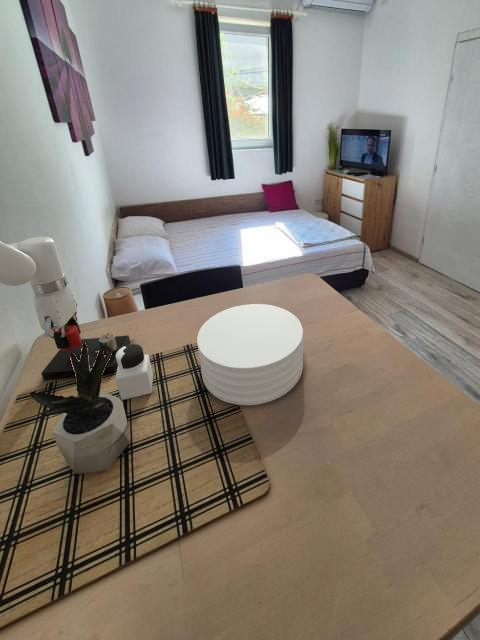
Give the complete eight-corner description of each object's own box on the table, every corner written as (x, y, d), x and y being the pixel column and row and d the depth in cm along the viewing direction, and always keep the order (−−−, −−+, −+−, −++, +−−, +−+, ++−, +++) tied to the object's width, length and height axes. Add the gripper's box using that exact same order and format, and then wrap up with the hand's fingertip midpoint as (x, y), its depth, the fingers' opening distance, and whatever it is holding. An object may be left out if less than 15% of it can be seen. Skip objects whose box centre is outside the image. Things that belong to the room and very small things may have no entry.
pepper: (56, 351, 89) (49, 331, 87) (66, 339, 94) (59, 320, 91) (76, 349, 90) (69, 330, 87) (85, 338, 95) (78, 319, 92)
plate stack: (214, 421, 74) (209, 383, 70) (194, 349, 98) (189, 317, 94) (321, 383, 85) (322, 347, 80) (279, 326, 108) (278, 296, 104)
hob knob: (115, 354, 93) (111, 340, 91) (100, 356, 92) (96, 342, 90) (119, 345, 96) (115, 332, 94) (105, 347, 96) (101, 333, 94)
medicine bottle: (153, 374, 89) (145, 338, 84) (151, 393, 82) (143, 355, 78) (124, 380, 87) (114, 344, 82) (121, 401, 80) (110, 362, 76)
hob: (43, 380, 87) (40, 372, 86) (69, 347, 100) (66, 339, 99) (118, 373, 89) (116, 365, 88) (134, 341, 102) (132, 334, 101)
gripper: (52, 270, 92) (70, 324, 99) (13, 302, 76) (38, 363, 83) (80, 269, 92) (96, 322, 100) (47, 299, 77) (69, 360, 84)
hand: (69, 340), depth 91 cm, fingers closed on pepper, 5 cm apart
